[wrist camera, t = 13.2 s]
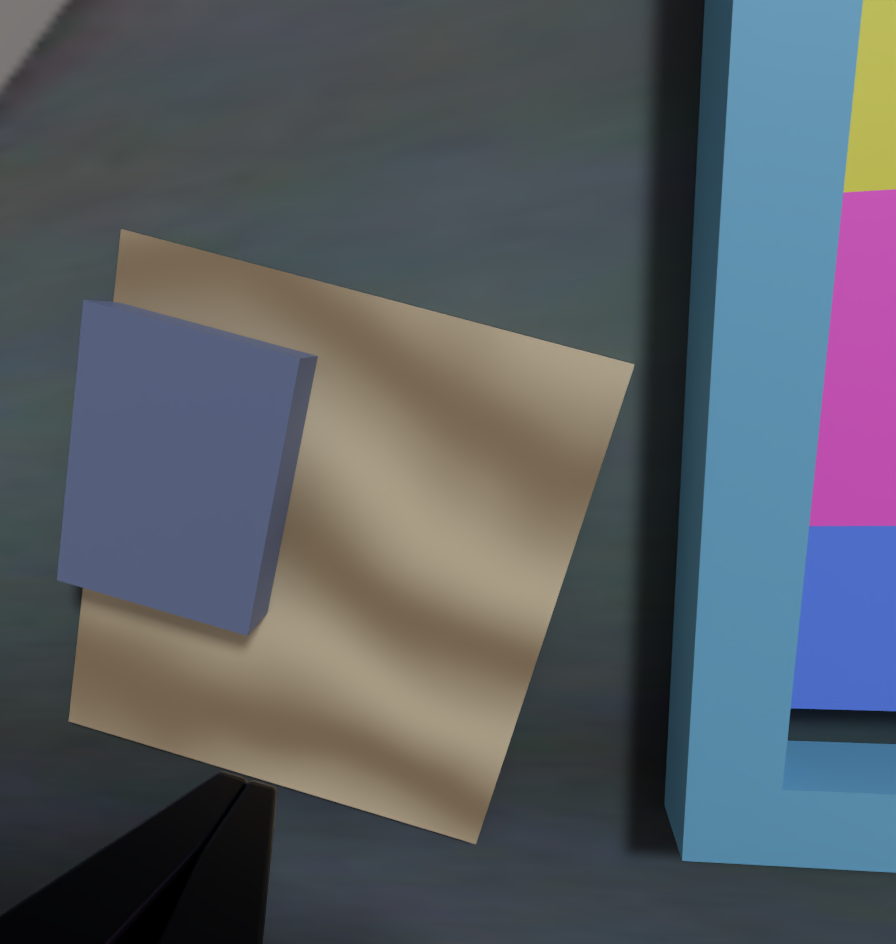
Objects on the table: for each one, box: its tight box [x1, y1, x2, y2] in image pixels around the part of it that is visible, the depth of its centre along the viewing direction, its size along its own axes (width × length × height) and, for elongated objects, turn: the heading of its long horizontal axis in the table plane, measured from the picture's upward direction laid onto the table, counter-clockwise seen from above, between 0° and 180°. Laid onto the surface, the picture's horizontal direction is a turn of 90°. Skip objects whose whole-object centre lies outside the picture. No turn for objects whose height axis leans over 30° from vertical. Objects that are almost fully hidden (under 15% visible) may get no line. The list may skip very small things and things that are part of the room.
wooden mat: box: [69, 229, 634, 844], centre depth 20 cm, size 18×16×1 cm
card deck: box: [57, 300, 318, 636], centre depth 19 cm, size 9×2×6 cm
